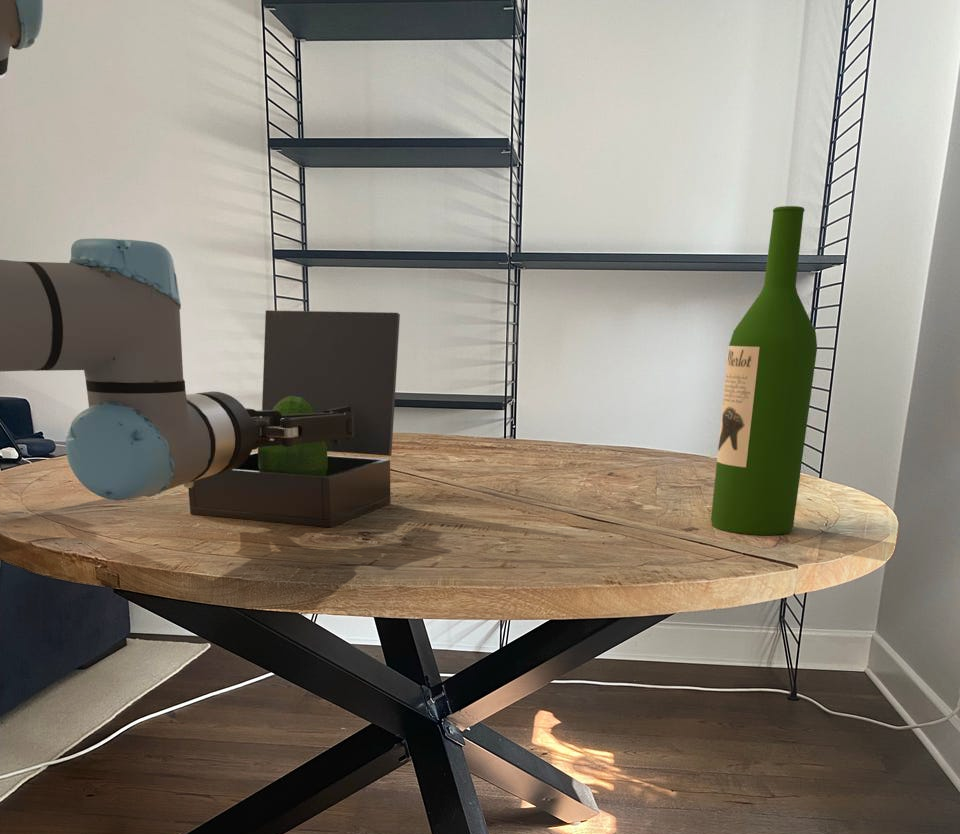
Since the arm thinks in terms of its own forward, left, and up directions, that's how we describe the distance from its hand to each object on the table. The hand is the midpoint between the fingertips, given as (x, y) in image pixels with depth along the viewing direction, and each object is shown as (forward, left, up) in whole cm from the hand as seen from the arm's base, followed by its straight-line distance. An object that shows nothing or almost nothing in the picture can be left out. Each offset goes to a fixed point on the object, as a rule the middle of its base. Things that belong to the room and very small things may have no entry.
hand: (291, 415), depth 104 cm
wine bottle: (+51, +11, -11) cm, 54 cm away
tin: (0, -1, -10) cm, 11 cm away
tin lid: (0, +8, +3) cm, 9 cm away
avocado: (0, -1, -10) cm, 10 cm away
